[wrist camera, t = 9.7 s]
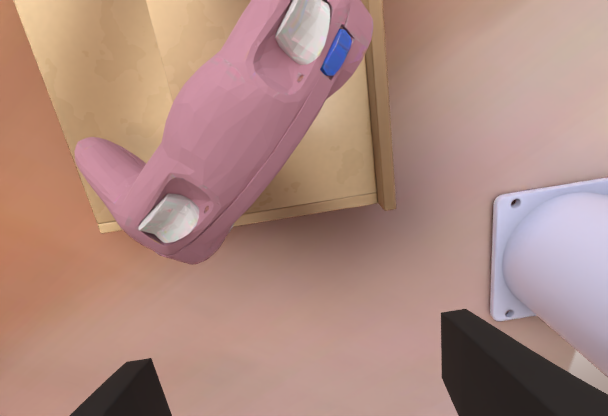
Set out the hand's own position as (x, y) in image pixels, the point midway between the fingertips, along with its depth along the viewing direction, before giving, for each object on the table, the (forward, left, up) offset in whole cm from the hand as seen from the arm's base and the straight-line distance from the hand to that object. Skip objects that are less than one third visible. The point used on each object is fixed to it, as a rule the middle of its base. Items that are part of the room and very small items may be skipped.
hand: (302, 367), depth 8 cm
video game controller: (+2, -7, -7) cm, 10 cm away
